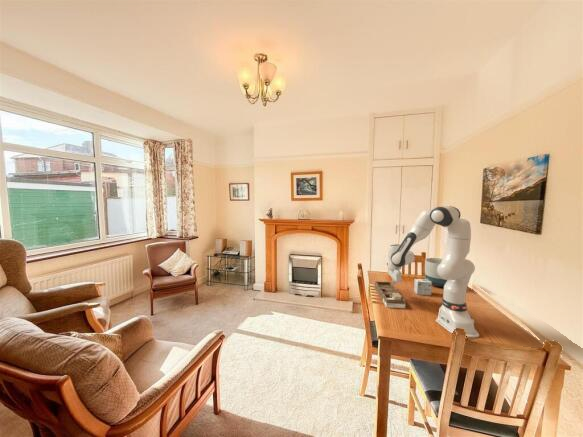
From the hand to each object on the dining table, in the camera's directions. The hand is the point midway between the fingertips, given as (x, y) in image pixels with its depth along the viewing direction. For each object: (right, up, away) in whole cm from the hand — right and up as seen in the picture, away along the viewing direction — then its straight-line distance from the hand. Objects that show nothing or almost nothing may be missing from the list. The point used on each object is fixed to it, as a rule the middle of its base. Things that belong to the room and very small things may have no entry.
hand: (394, 284), depth 173 cm
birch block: (-2, -9, -7) cm, 12 cm away
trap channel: (-2, -11, +5) cm, 13 cm away
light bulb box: (+27, -11, +11) cm, 31 cm away
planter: (+49, -9, +28) cm, 57 cm away
